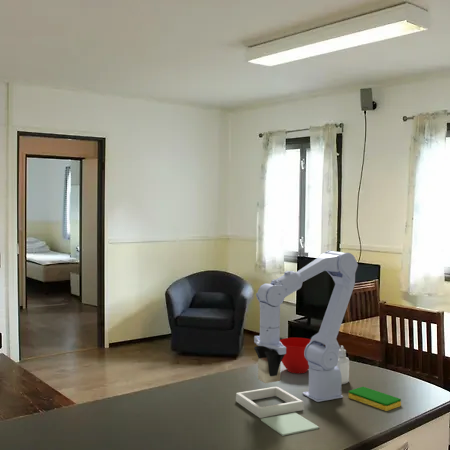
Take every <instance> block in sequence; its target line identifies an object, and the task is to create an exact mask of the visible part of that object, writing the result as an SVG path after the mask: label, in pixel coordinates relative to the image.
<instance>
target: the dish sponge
mask: <svg viewBox="0 0 450 450" xmlns="http://www.w3.org/2000/svg"><path fill="white" fill-rule="evenodd" d="M348 398H349V399H351V400H354V401H357V402H359V403H362V404H365V405H368V406H371V407H373V408H377V409H379V410H382V411H385V412H388V411H391V410H394V409H397V408H400V407H401V406H402V399H401V398H398V397H396V396H393V395H390V394H387V393H384V392H380V391H377V390H375V389H372V388H369V387H366V386H361V387H358V388H357V387H356V388H354V389H351V390H348Z"/></svg>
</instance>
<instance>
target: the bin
mask: <svg viewBox="0 0 450 450" xmlns="http://www.w3.org/2000/svg"><path fill="white" fill-rule="evenodd" d="M272 397H276V398H278V399H280V400H282V401H284V403H278V404H271V405H266V406H260V405H259V404H257V403H255V402H254V401H255V400H261V399H265V398H272ZM253 400H254V401H253ZM235 402H236V403H238V404H239V405H240V406H242V407H243V408H244V409H246V410H247V411H249V412H250V413H252V414H253V415H254V416H256V417H258V418H259V419H263V418H268V417H274V416H279V415H284V414H290V413H295V412H299V411H303V410H304V400H301V399H300V398H298V397H296V396H295V395H293V394H292V393H290V392H288V391H286V390H285V389H283V388H281V387H279V386H271V387H265V388H264V387H263V388H259V389H252V390H245V391H240V392H236V393H235Z"/></svg>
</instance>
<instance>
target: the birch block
mask: <svg viewBox="0 0 450 450" xmlns="http://www.w3.org/2000/svg"><path fill="white" fill-rule="evenodd" d="M257 380H259V381H261V382H262V383H263V384H269V383H275V382H280V381H281V365H280V366H279V370H278V373H277V376H270V374H269V366H268V360H267V357H266V358H258V360H257Z"/></svg>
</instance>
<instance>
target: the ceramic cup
mask: <svg viewBox="0 0 450 450" xmlns="http://www.w3.org/2000/svg"><path fill="white" fill-rule="evenodd" d="M310 341H311V338H305V337H287V338H286V337H285V338H282V339H281V338H280V342H281V343H282V344H283V346H285V347H286V354H285V355H284V357H283V359H282V361H281V364H282V365H283V367H285V368H286V370H287V371H288V372H289V373H292V374H305V373H307V372H308V371H309V365H308V361H307V360H306V358H305V356H304V351H305V348H306V346H307V345H308V344H309V342H310Z"/></svg>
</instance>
